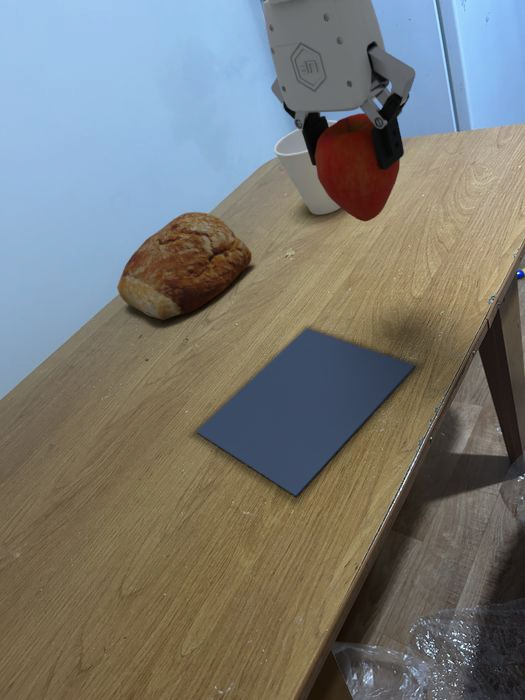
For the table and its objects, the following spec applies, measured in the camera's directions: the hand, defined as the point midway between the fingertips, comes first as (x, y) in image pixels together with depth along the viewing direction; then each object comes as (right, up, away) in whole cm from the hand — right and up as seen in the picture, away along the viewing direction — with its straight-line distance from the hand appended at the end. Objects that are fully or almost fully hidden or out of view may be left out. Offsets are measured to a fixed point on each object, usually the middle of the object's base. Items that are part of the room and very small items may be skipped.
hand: (356, 160), depth 58 cm
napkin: (-5, -25, +8) cm, 27 cm away
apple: (+2, -5, +4) cm, 7 cm away
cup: (+2, +6, +43) cm, 44 cm away
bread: (-23, -9, +39) cm, 46 cm away
